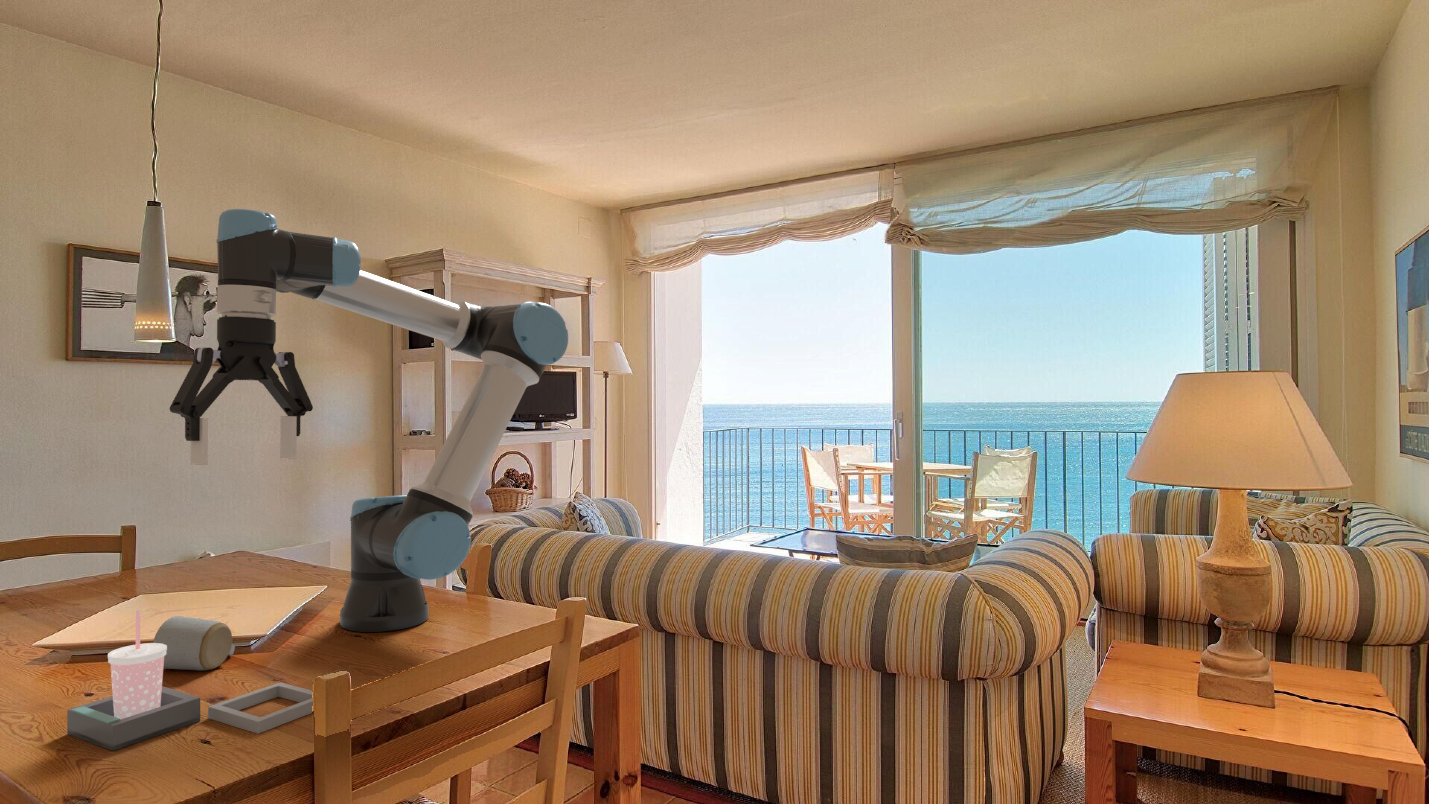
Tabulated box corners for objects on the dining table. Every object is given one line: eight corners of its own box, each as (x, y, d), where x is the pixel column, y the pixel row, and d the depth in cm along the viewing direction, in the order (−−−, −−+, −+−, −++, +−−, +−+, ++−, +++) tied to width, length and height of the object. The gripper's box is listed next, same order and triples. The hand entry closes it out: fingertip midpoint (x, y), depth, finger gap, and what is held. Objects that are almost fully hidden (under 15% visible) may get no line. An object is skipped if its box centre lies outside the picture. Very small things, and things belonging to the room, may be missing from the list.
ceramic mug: (202, 677, 119) (204, 625, 119) (149, 675, 119) (151, 623, 119) (249, 655, 129) (250, 607, 130) (200, 653, 130) (201, 605, 130)
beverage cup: (114, 716, 103) (114, 606, 103) (171, 709, 105) (172, 602, 105) (100, 735, 97) (101, 619, 97) (161, 727, 100) (162, 614, 100)
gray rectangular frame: (280, 692, 113) (280, 682, 113) (328, 706, 109) (328, 695, 109) (208, 718, 104) (208, 706, 104) (257, 733, 100) (257, 721, 100)
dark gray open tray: (154, 706, 108) (154, 682, 108) (200, 720, 103) (200, 695, 103) (67, 734, 99) (67, 708, 99) (113, 751, 95) (113, 724, 94)
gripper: (173, 307, 107) (172, 469, 107) (337, 323, 129) (336, 456, 129) (140, 309, 110) (139, 466, 110) (306, 324, 132) (305, 454, 132)
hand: (245, 461), depth 120 cm, fingers open, 13 cm apart
